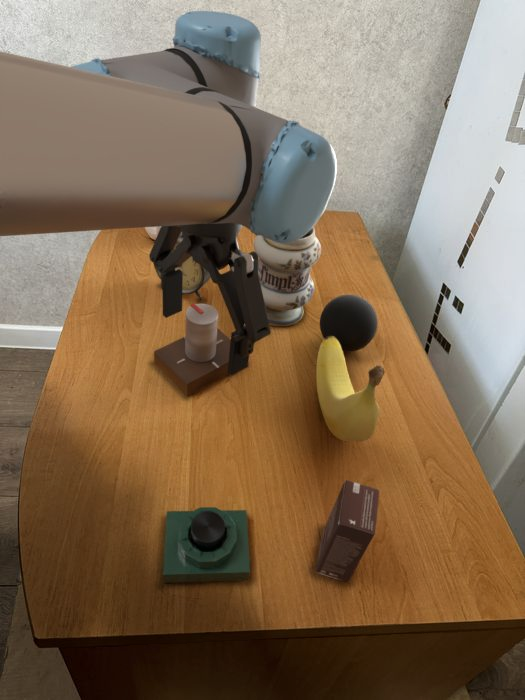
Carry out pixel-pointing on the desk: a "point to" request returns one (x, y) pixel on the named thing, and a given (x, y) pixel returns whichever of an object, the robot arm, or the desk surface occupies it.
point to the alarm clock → (190, 274)
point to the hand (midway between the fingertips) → (203, 340)
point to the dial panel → (193, 364)
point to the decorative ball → (349, 322)
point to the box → (348, 531)
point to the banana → (345, 395)
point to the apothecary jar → (286, 276)
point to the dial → (201, 332)
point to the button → (207, 530)
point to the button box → (206, 565)
